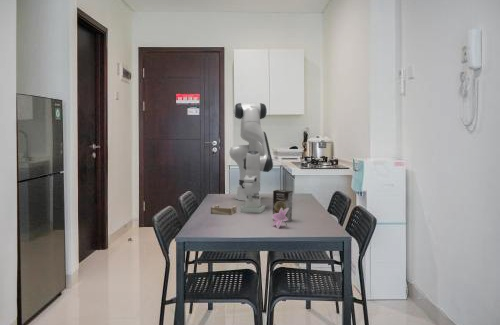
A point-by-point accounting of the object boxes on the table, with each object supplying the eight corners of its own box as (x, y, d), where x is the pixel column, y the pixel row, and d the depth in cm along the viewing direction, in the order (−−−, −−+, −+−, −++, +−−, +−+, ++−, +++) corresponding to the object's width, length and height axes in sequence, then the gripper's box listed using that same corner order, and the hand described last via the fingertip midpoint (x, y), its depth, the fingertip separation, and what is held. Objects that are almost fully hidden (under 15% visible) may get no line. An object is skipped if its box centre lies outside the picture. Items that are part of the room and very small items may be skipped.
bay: (217, 210, 254) (217, 204, 254) (236, 211, 250) (236, 205, 250) (210, 213, 245) (210, 207, 244) (230, 214, 241) (230, 208, 241)
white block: (247, 209, 256) (247, 195, 256) (260, 209, 254) (260, 195, 253) (245, 210, 252) (245, 196, 251) (258, 211, 249) (258, 196, 249)
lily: (272, 225, 218) (265, 210, 214) (292, 216, 218) (286, 202, 214) (276, 237, 207) (269, 222, 203) (298, 228, 207) (291, 213, 203)
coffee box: (272, 220, 226) (272, 190, 225) (277, 218, 232) (277, 189, 231) (287, 221, 222) (288, 191, 221) (292, 219, 228) (292, 190, 226)
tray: (245, 209, 259) (245, 204, 259) (264, 210, 256) (264, 205, 256) (240, 211, 250) (240, 207, 250) (260, 213, 246) (260, 208, 246)
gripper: (253, 176, 262) (253, 197, 263) (242, 179, 243) (242, 202, 244) (262, 176, 260) (262, 198, 261) (253, 179, 241) (253, 203, 242)
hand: (252, 200), depth 252 cm, fingers open, 8 cm apart
